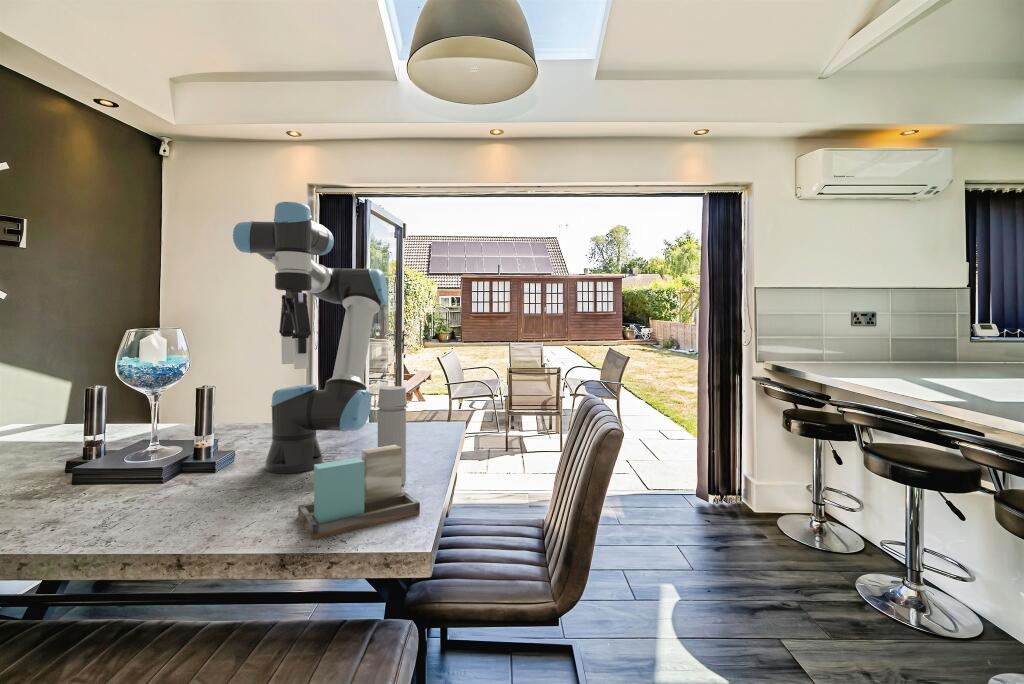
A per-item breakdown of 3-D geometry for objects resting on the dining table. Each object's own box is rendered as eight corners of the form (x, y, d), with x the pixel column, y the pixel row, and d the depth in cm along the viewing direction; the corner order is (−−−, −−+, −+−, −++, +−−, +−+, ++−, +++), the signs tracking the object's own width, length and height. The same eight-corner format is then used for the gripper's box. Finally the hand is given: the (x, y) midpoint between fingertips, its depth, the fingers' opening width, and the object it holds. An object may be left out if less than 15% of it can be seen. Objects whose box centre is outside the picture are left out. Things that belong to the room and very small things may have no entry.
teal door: (314, 523, 95) (313, 464, 94) (358, 513, 100) (358, 457, 100) (318, 529, 92) (318, 469, 92) (364, 519, 97) (364, 461, 97)
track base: (298, 517, 100) (297, 456, 100) (396, 496, 113) (396, 442, 113) (313, 540, 90) (312, 472, 89) (419, 513, 103) (419, 454, 102)
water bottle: (400, 490, 117) (400, 390, 116) (371, 487, 119) (371, 389, 118) (414, 478, 126) (415, 385, 125) (387, 476, 128) (387, 384, 127)
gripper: (265, 275, 114) (266, 362, 115) (286, 266, 94) (287, 371, 95) (298, 277, 119) (299, 361, 120) (325, 269, 99) (326, 370, 100)
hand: (294, 366), depth 107 cm, fingers open, 13 cm apart
